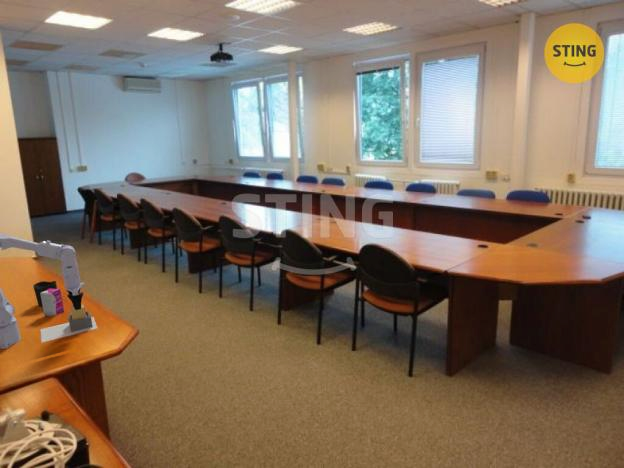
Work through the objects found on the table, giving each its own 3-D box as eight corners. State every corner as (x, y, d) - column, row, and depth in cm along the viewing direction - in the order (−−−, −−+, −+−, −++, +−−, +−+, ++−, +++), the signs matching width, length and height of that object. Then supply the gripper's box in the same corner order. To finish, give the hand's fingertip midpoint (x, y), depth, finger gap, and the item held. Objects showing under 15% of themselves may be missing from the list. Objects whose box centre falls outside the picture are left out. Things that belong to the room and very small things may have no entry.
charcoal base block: (71, 332, 179) (69, 322, 177) (69, 324, 185) (67, 315, 184) (92, 326, 183) (90, 317, 182) (90, 319, 189) (88, 310, 188)
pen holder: (55, 297, 219) (51, 278, 217) (63, 301, 213) (59, 282, 211) (34, 304, 212) (30, 284, 210) (42, 308, 206) (37, 288, 204)
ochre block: (73, 321, 180) (70, 310, 178) (72, 317, 184) (69, 306, 182) (86, 318, 182) (84, 307, 181) (85, 314, 186) (83, 303, 185)
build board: (41, 344, 171) (41, 342, 171) (41, 331, 182) (40, 329, 182) (97, 330, 181) (97, 328, 181) (93, 318, 193) (93, 316, 192)
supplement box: (55, 317, 196) (50, 293, 193) (44, 316, 197) (39, 293, 194) (65, 311, 201) (60, 288, 198) (54, 311, 202) (49, 288, 200)
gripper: (84, 278, 174) (89, 309, 178) (80, 268, 186) (86, 298, 190) (64, 282, 171) (70, 314, 174) (61, 272, 183) (67, 302, 186)
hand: (77, 306), depth 182 cm, fingers open, 7 cm apart
